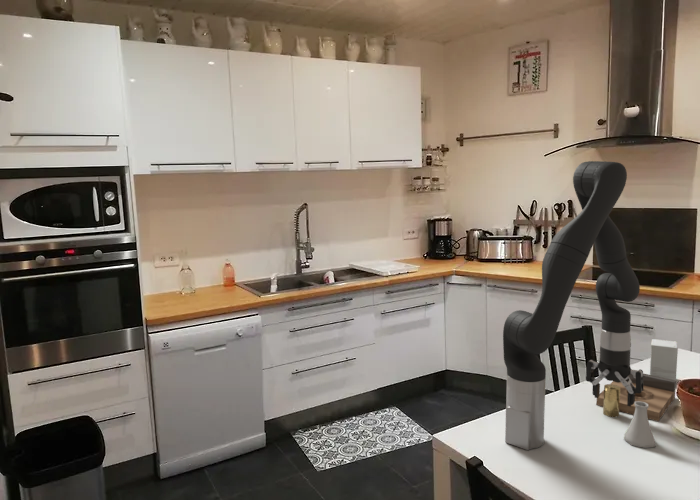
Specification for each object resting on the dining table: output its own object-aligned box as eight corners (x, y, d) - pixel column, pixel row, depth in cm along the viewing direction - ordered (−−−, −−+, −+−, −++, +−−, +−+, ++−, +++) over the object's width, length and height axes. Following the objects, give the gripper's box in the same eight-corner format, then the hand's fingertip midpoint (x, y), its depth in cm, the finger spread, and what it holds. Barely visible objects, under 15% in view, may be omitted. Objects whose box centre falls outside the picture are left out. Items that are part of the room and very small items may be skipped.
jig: (658, 421, 139) (659, 402, 138) (596, 404, 150) (597, 387, 149) (674, 397, 153) (675, 380, 153) (617, 384, 164) (617, 368, 163)
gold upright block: (616, 418, 141) (617, 391, 140) (601, 414, 144) (602, 387, 143) (620, 413, 144) (622, 386, 143) (605, 409, 147) (606, 383, 146)
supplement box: (675, 378, 168) (678, 341, 166) (675, 386, 162) (678, 347, 160) (649, 374, 172) (651, 338, 170) (648, 382, 166) (650, 344, 164)
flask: (660, 450, 124) (663, 411, 123) (628, 447, 126) (630, 409, 125) (649, 435, 131) (652, 398, 130) (619, 433, 133) (621, 396, 132)
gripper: (583, 343, 143) (582, 398, 145) (640, 354, 133) (637, 413, 136) (592, 337, 149) (591, 390, 151) (647, 347, 139) (645, 403, 141)
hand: (613, 401), depth 143 cm, fingers open, 8 cm apart
